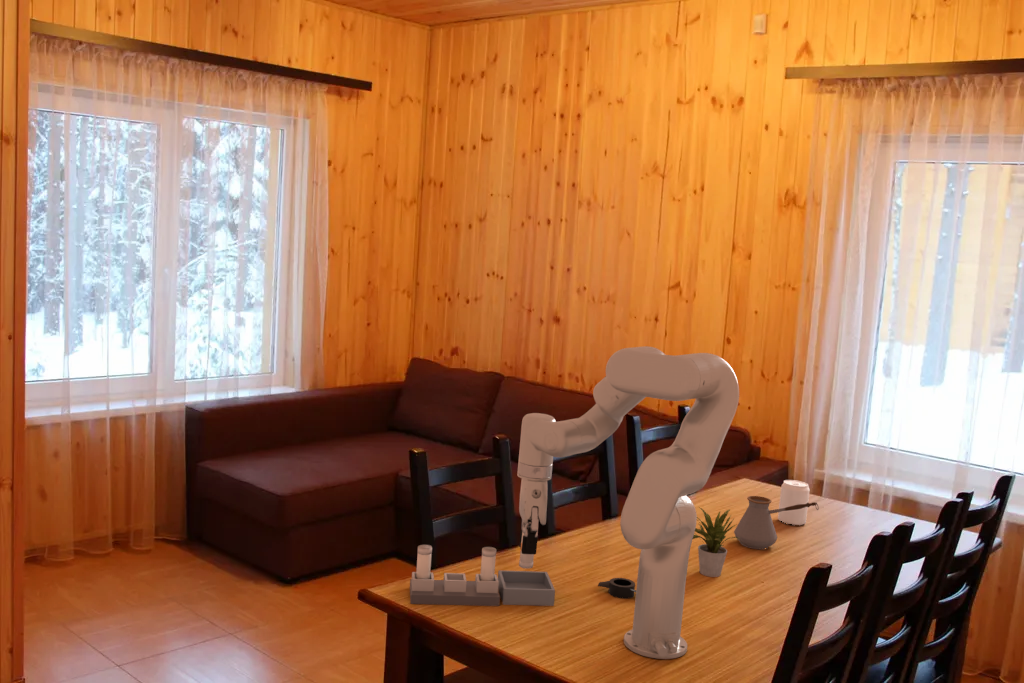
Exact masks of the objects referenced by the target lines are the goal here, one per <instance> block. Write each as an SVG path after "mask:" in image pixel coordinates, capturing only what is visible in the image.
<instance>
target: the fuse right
mask: <svg viewBox="0 0 1024 683" xmlns="http://www.w3.org/2000/svg"><path fill="white" fill-rule="evenodd" d="M496 556H497V549H496V548H495V547H492V546H484V547H482V548H481V561H480V562H481V563H480V574H481V575H480V581H494V574H495V572H496V571H495V569H496V559H497V558H496Z"/></svg>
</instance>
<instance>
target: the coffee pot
mask: <svg viewBox="0 0 1024 683" xmlns="http://www.w3.org/2000/svg"><path fill="white" fill-rule="evenodd" d="M747 500H748V507H747V508H746V510H745V511H744V514H743V515H742V517H741V519H740V520H739V522H738V524H737V525H736V527H735V529H734V530H733V533H734V537H738V538H739V539H738V538H736V539H737V541H739V543H740V545H742V546H743V547H746V548H750V549H754V550H766V549H765V548H767V549H769V548H770V547H771V546H774V544H775V543H776V542H777V539H778V535H777V532H776V528H775V525H774V523H773V519H772V516H771V514H778V512H781V511H788V510H796V509H802V508H805V507H808V508H810V507H815V509H816V511H819V508H820V507H819V504H818V502H817V501H816V502H810V503H809V502H808V503H807V504H798V505H794V506H790V507H786V508H781V509H779V508H776V509H769V506H770V505H771V504H772V503H773V502H772V499H770V498H768V497H765V496H759V495H749V496H747ZM768 547H769V548H768Z"/></svg>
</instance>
